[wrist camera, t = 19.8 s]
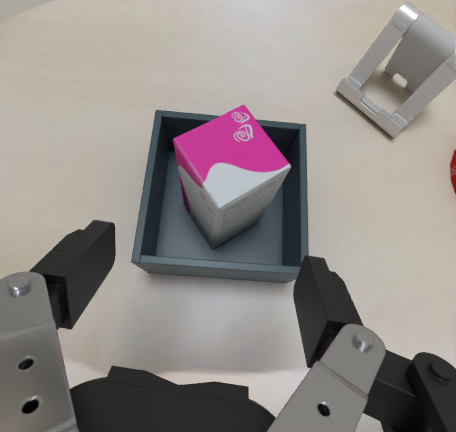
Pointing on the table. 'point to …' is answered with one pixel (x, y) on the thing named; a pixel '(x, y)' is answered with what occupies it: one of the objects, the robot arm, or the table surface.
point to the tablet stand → (405, 66)
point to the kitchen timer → (453, 170)
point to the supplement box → (228, 174)
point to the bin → (238, 245)
